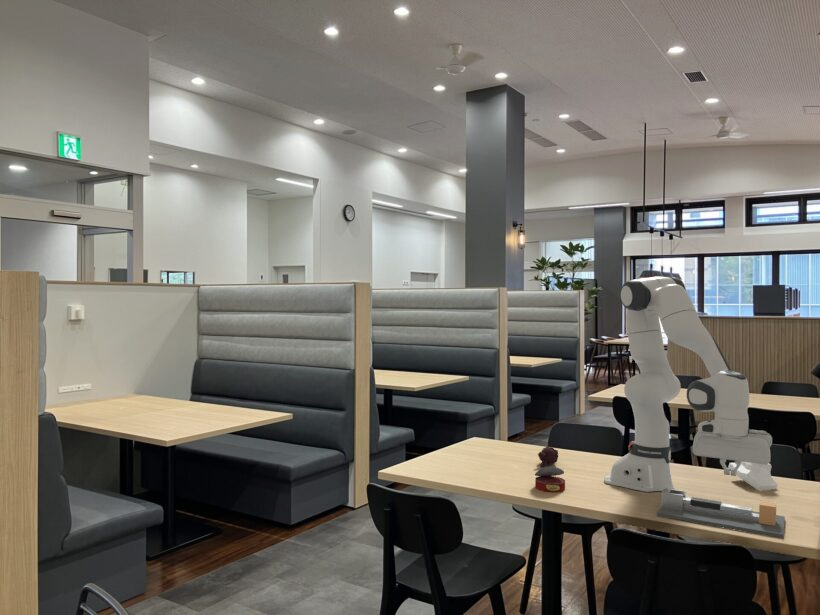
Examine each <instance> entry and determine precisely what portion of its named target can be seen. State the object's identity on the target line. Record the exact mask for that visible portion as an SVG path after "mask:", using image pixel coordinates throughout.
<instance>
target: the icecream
mask: <svg viewBox="0 0 820 615" xmlns="http://www.w3.org/2000/svg"><path fill="white" fill-rule="evenodd" d="M537 456H538V459H539V460H540V461H541V463H540V466H541V468H543V467H547V465H553V464H555V463H557V462H558V458H559V450H558V449H555V448H554V447H551V446H546V447H544V448H542V449H541V451H539V452H538V454H537Z"/></svg>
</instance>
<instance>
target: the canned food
mask: <svg viewBox="0 0 820 615" xmlns="http://www.w3.org/2000/svg"><path fill="white" fill-rule="evenodd" d="M563 474H565V471H564V469H561V468H559V467H557V466H545V467H541V468H539V470H538V471H536V472H535V473H534V476H536V477H535V480H534V482H535V484H534V486H535V489H536V490H538V491H540V492H541V491H542V492H545V493H562V492H564V491H565V490H566V480H565V479H564V478H562V477H560V476H561V475H563Z"/></svg>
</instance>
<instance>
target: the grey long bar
mask: <svg viewBox="0 0 820 615" xmlns="http://www.w3.org/2000/svg"><path fill="white" fill-rule="evenodd" d="M686 492H687V491H685V490H679V489H675V488H673V489H668V488H664V490H663V491H660V494H661V498H660V499H661V500H660V508H661V507H663V508H669V509H675V510H681V511H683V510H688V511H694V512H700V513H706V514H712V515H718V516H724V517H730V518H735V519H741V520H747V521H753V522H759V514H755V513H752V514H751V515H749V514H743V513H737V512H730V511H724V510H718V509H712V508H706V507H700V506H694V505H688V504H683V497H687V496H686V494H687V493H686ZM775 525H776V524H775Z"/></svg>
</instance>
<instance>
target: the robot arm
mask: <svg viewBox="0 0 820 615" xmlns="http://www.w3.org/2000/svg"><path fill="white" fill-rule="evenodd" d="M686 289H687V288H686V286H685V283H684V281H682V279H680V278H678V277H674V276H651V277H646V278H639V279H631V280H627V281H626V282H624V283H623V284H622V286H621V288H620V291H619V298H620V301H621V304H622V306H624V308H625V309H626V331H627V336H628V337H627V338H628V344H629V345H628V346H629V350H630V351H629V353H630V355H631V356H630V357H631V359H633V360H634V361H635V363H636V365H637V367H638V368H639V372H640V373H637V374H635V375H633V376H632V377H630V378H629V379H627V381H626V382H625V384H624V387H623V389H624V396H625V397H626V399H627V400H628V401H629V403H630V406H631V408H632V412H633V417H634V418H633V419H634V440H632V441H630V443H629V444H628V453H627V454H625V455H624V456H622V457H620V458H618V459H617V460H615V462H614V463H613V465H612V466H611V471H610V473H609V474H607V475H605V476H604V479H603V481H604V483H605V484H607V485H612V486H617V487H622V488H627V489H632V490H636V491H640V492H647V493H650V492H662V491H663V490H664V488H668V489H675V488H674V484H673V479H672V475H671V466H670V464H671V458H672V455H671V454H672V453H671V452H672V450H671V446H670V422H669V420H668V419H667V417H666V414H665V411H664V404H665V403H669V402H670V401H673V400H674V399H675V398H676V397H678V395H679V394H680V392H681V389H682V387H681V382H680V380H679V378H678V376H676V375H675V374H674V372H673V370H672V368H671V365H670V363H669V360H668V358H667V354H666V351H665V346H664V340H663V333H662V331H663V332H664V334H665V336H666V337H667V339H668V340H669V341H670V342H672V343H673V344H675V345H677V346H679V347H680V346H681V347H682V348H685V349H688V350H690V351H692V352H694V354H697V355H698V356H699V357H700V358H701V360H702V362H703V364H704V365H705V368H706V369H707V371H708V373H709V375H710V377H707V378H702V379H697V380H694V381H692V382H691V383H690V384H689V385H688V387H687V388H686V400H687V403H688V405H689V406H690V407H691V408H692V409H693V410H695V411H697V412H698V411H699V412H706V413H707V412H714V419H710V420H704V421H700V422H699V423H698V425H697V430H698V431H697V432H696V433H695V435H694V438H693V443H692V453H693V454H694V455H695V456H697V457H703V458H704V457H706V458H714V459H719V464H720V465H721V467H722V469H723V475H725V476H733V477H736V476H737V469H738V468H739V466H740V465H741V461H742V462H750V463H758V464H765V465H767V464H768V463H769V464H770V463H771V449H770V448H771V446H772V445H773V436H772V435H771V434H770V433H768V432H767V431H766V430H757V429H750V428H749V424H750V423H749V421H750V419H749V413H748V410H749V409H748V408H749V406H750V387H749V380H748V379H747V377H746V375H744V374H742V373H740V372H737V371H734V370H733V371H732V370H731V367H730V366H729V364H728V362H727V359H726V358H725V356H724V354H723V352H722V350H721V348H720V345H719V344H718V343H717V341H716V339H715V338H714V336H713V335H712V334H711V333H710V332H709V331H708V330H707V329H706V327H705V326H704V325H703V323H702V320H701V319H700V317H699V315H698V313H697V310H696V307H695V305H694V303H693V301H692V298H691V297H690V295H689V294H688V292H687V290H686ZM661 326H662V327H661ZM727 460H728V461H734V463H735V464H737V465H736V467H735V468H734V469H733V468H731V469H730V468H728V467H727V465H726V462H727Z"/></svg>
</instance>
